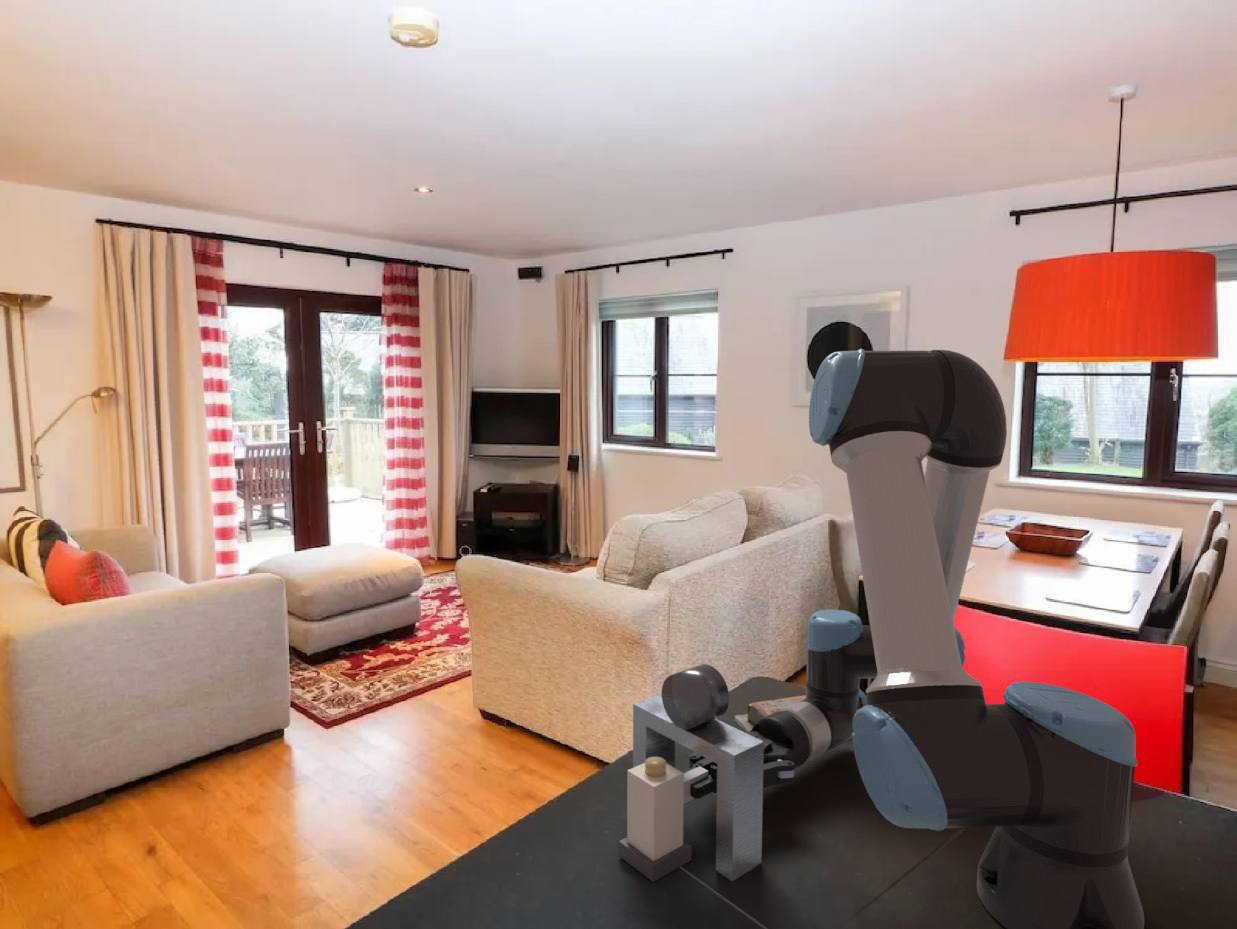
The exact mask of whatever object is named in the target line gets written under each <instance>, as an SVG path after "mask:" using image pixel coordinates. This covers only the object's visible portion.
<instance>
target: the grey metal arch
mask: <svg viewBox="0 0 1237 929" xmlns="http://www.w3.org/2000/svg"><path fill="white" fill-rule="evenodd" d="M729 692H730V691H729V689H728V685H727V683H726V681H725V678H724V676H723V675H722V674H721V673H720V672H719V670H717V668H715V667H713V666H712V665H710V664H705V663H703V664H699V665H696V666H693V667H690V668H687V669H685V670H682V671H679V672H676V673H673V674H670V675H668V676H666V678H665V680H664V681H663V683H662V687H661V693H660V694H657V695H654V696H651V697H649V698H646V699H642V700H640V701H638V702H635V703H632V763H633V764H632V768H634V767H636V766H639V765H641V764H643V763H645V760H646V759H647V758H649V757H661V758H663V759H664V760H665V761H666V763H667V764H669V765H670V766H672V767H674V768H675V767H676V743H677V744H679V745H681V746H683V747H685V748H686V749H688V750H690V751H692V752H693V753H694V752H696V753H698V754H700V755H701V756H703V757H705V758H707V759H709V760H711V761H713V762H715V763H716V764H717V793H716V818H715V819H716V821H715V822H716V826H715V832H716V833H715V841H716V842H715V871H716V872H718V873H719V874H720V875H722V876H723V877H725V878H726V879H728V880H729V881H731V882H733V881H735V880H737V879H738V878H741V876H743V875H745V874H747V873H748V872H750V871H751V870H753V869H754V868H756V867H757V866H759V865H761V864H762V858H763V857H762V852H763V850H762V849H763V810H764V809H763V808H764V807H763V806H764V805H763V804H764V802H763V801H764V799H763V798H764V788H763V761H764V741H762V740H760V739H757V738H755V737H753V736H751V735H749V734H747V733H745V732H746V731H744V730H743V731H742V730H740V729H738V728H737V727H734V726H732V725H729V724H728V723H725V722H723V721H721V720H720V719H719V720H718V719H717V718H720V717H722V716H724V715H725V713H727V711H728V708H729V705H730V693H729Z"/></svg>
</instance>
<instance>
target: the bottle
mask: <svg viewBox="0 0 1237 929" xmlns="http://www.w3.org/2000/svg"><path fill="white" fill-rule="evenodd" d="M683 772H684V771H681V770H679V769H677V768H674V767H672V766H670V765H669V764H667V763H666V761H665V760H664V759H663V758H661V757H649V758H647V759H646V760H645V763H643V764H641V765H639V766H636V767H634V768H633V767H632V768H630V769H629V768H628V769H627V774H626V775H627V776H626V778H627V782H626V784H627V787H626V788H627V790H626V791H627V794H626V795H627V798H626V799H627V801H626V802H627V803H626V805H627V806H626V807H627V808H626V809H627V811H626V813H627V814H626V815H627V816H626V817H627V819H626V821H627V822H626V823H627V824H626V825H627V826H626V827H627V831H626V832H627V833H626V835H627V836H626V837H624V838H623V839H621V840H619V841H618V856H619V857H620V858H621V859H623V860H624V861H625V862H626V863H628V864H629V865H630V866H631V867H633V868H634V869H636V870H637V871H638V872H639V873H640V874H642V875H644V876H645V877H646V878H647V879H648V880H650V881H651V882H653V883H654V882H656V881H658V880H659V879H660V878H663V877H665V876H666V875H668V874H669V873H671V872H673V871H675V870H677V869H678V868H680V867H682V866H684V865H685V864H687V863H689V862H690V861H692V853H693V851H692V847H693V846H692V845H693V844H690V843H689V842H688V841H685V840H684V804H683V794H684V773H683Z"/></svg>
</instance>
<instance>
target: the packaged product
mask: <svg viewBox="0 0 1237 929" xmlns="http://www.w3.org/2000/svg"><path fill="white" fill-rule="evenodd" d="M805 698H806V694H802V695H801V694H800V695H795V696H789V697H781V698H778V699H776V698H775V699H770V700H769V699H768V700H764V701H763V700H762V701H754V702H752V703H749V704H748V705H747V713H744V714H736V715H735V716H734V721H735V723H736V724H737V725H738V726H739V728H741V729H742V730H743V731H744V732H748V731H751V730H752V729H753V727H754V726H755V724H756V723H757V722H758V721H759V720H760V719H761V718H764V717H766V716H768V715H770V714H773V713H775V712H778V711H779V710H781V709H783V708H786V707H788V706H790V705H793V704H795V703H798V702H800V701H802V700H804V699H805Z"/></svg>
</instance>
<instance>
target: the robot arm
mask: <svg viewBox="0 0 1237 929" xmlns="http://www.w3.org/2000/svg"><path fill="white" fill-rule="evenodd" d="M808 409H809V410H808V428H809V435H810V436H811V438H812V441H813V442H814V443H815V444H817V445H820V446H822V447H825V446H827V445H828V447H829V451H830V459H831V462H832V464H833V465H834V467H836V468H838V469H840V470H841V471H843V472H844V473H845V474H846V479H847V485H848V491H849V498H850V505H851V512H852V517H853V518H852V519H853V524H854V530H855V537H856V538H855V539H856V542H857V544H856V545H857V549H858V556H859V563H860V567H861V568H860V569H861V575H862V583H863V588H864V596H865V601H866V608H867V613H868V614H867V615H868V621H869V625H863V623H862V620H861V617H859V615H857V614H856V613H854V612H851V611H848V610H842V609H840V610H838V609H829V608H828V609H827V608H826V609H821V610H818V611H815V612H813V613H812V614H811V615H810V617H809V619H808V624H807V625H808V626H807V636H806V637H807V638H806V642H805V645H806V685H805V695H806V698H805V699H804V700H802V701H800V702H798V703H795V704H793V705H790V706H788V707H786V708H783V709H781V710H779V711H778V712H775V713H773V714H770V715H768V716H766V717H764V718H761V719H760V720H759V721H758V722H757V723H756V724H755V726H754V727H753V729H752V730H751V731H748V732H746V731H744V732H745V733H747V734H749V735H751V736H753V737H755V738H757V739H760V740H762V741H764V761H763V789H766V788H769V787H772V786H777V785H785V784H786V785H787V784H788V785H789V784H793V783H794V782H795V769H797V768H799V767H801V766H802V765H803V764H805V763H807V762H809V761H812V760H813V759H815V758H817V757H819V756H821V755H823V754H824V753H827V752H828V751H831V750H833V749H835V748H836V747H838V746H841V745H843V744H845V743H847V742H851V741H852V746H853V752H854V753H853V754H854V757H855V761H856V764H857V765H856V766H857V768H858V772H859V774H860V778H861V780H862V783H863V786H864V788H865V790H866V792H867V794H868V796H869V797H870V800H871V801H872V802H873V804H874V806H875V808H876V809H877V810H878V812H880V814H881V815H882V816H883V817H884V818H885V820H887V821H888V822H890V823H891V824H893V825H895V826H896V827H899V828H904V829H905V828H906V829H929V830H931V831H935V832H940V831H944V830H945V829H959V828H966V829H967V828H989V827H990V828H991V827H995V828H994V830H993V832H992V834H991V836H990V839H989V840H988V842H987V844H986V845H985V846H986V847H985V849H984V850H983V852H982V854H981V857H980V859H979V861H978V864H977V875H976V876H977V877H976V891H977V894H978V898H979V900H980V901H981V904H982V905H983V906H984V909H985V910H986V911H988V913H989V914H990V916H992V917H993V918H994V919H995V921H997V922H998V923H999V924H1000V925H1002V926H1003V927H1004V928H1005V929H1145V913H1144V909H1143V906H1142V901H1141V899H1140V896H1139V893H1138V890H1137V885H1136V883H1135V882H1136V881H1135V879H1134V875H1133V873H1132V869H1131V866H1130V863H1129V858H1128V855H1129V841H1130V829H1131V827H1130V826H1131V815H1132V805H1133V804H1132V802H1133V793H1134V792H1133V791H1134V783H1135V772H1136V767H1138V759H1137V758H1136V757H1137V756H1136V731H1135V727H1134V726H1133V724H1132V722H1131V721H1130V720H1129V719H1128V718H1127V717H1126V716H1125V715H1124V714H1123V713H1122V712H1120V711H1119V710H1118V709H1116V708H1115V707H1113V706H1111V705H1109V704H1108V703H1106V702H1104V701H1102V700H1100V699H1097V698H1095V697H1093V696H1091V695H1087V694H1085V693H1082V692H1079V691H1076V690H1074V689H1073V690H1072V689H1070V688H1065V687H1062V686H1057V685H1053V684H1048V683H1042V682H1036V681H1016V682H1013V683H1010V684H1009V685H1008V686H1007V687H1006V689H1005V692H1003V700H1004V703H994V704H991V703H990V704H988V703H987V702H986V699H985V695H984V690H983V685H982V683H981V682H980V681H978V680H977V679H976V678H975V677H973V676H972V675H971V674H969V673H968V672H967V671H966V670H965V669H964V665H965V662H966V655H965V650H966V647H965V642H964V638H963V636H962V634H961V632H960V631H959V630H958V628H956V626H955V625H954V623H955V622H954V621H955V618H956V614H957V609H958V606H959V600H960V597H961V592H962V589H963V588H962V587H963V585H964V579H965V575H966V571H967V566H968V563H969V559H970V555H971V551H972V546H973V543H974V539H975V535H976V530H977V527H978V522H979V519H980V518H979V517H980V514H981V510H982V505H983V503H984V502H983V501H984V496H985V492H986V489H987V484H988V479H989V477H990V476H989V475H990V471H993V470H994V469H996V468H997V467H999V466H1000V465H1001V464H1002V461H1003V456H1004V453H1005V449H1006V444H1007V443H1006V442H1007V434H1008V432H1007V417H1006V411H1005V405H1004V403H1003V399H1002V395H1001V393H1000V391H999V388H998V386H996V384H995V382H994V380H993V378H991V376H990V375H989V373H988V372H987V371H986V370H985V369H984V368H983V367H982V366H981V365H980V364H979V363H978V362H976V361H975V360H973V359H972V358H971V357H969V356H967V355H964V354H962V353H960V352H956V351H952V350H946V349H932V350H865V349H863V348H859V349H858V350H841V351H834V352H832V353H830V354H829V355H828V356H826V357H825V358H824V360H823V361H821V364H820V366H819V367H818V369H817V372H816V375H815V378H814V380H813V385H812V390H811V393H810V401H809V408H808ZM925 458H926V459H927V462H926V467H925V471H924V469H923V464H922V461H923V460H924V459H925ZM861 679H873V681H872V682H871V683H870V685H869V686H868V687H867V688H866V689H865V693H864V692H863V691H862V690H861V689H860V681H861ZM682 772H683V773H684V794H683V805H684V804H687V803H688V802H690V801H693V800H697V799H701V798H703V797H705V796H707V795H709V794H711V793H713V794H717V764H716V763H715V762H713V761H711V760H709V759H707V758H705V757H703V756H701V755H700V754H698V753H696V752H694V751H693V752H692V753H691V754H690V755H689V768H688V769H686V770H683V771H682Z"/></svg>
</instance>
